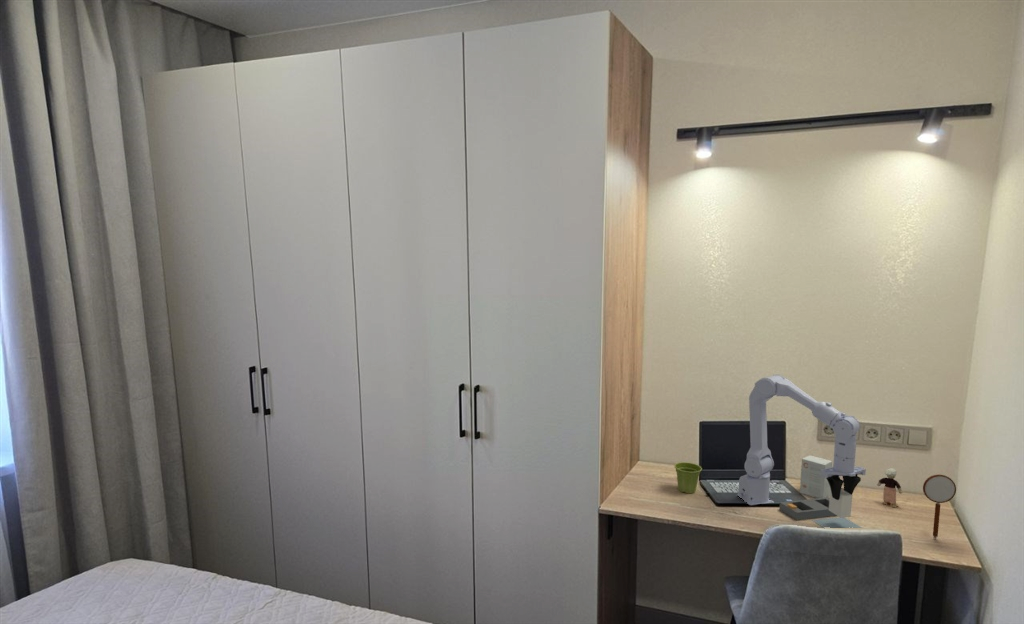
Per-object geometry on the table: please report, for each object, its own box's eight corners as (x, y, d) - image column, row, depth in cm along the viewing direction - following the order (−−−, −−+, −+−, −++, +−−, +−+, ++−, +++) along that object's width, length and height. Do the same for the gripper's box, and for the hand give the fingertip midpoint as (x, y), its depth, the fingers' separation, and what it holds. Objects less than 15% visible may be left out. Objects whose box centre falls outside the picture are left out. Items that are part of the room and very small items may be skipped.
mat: (834, 536, 178) (834, 534, 178) (811, 521, 188) (811, 519, 187) (868, 532, 180) (868, 531, 180) (843, 518, 190) (843, 517, 190)
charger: (840, 517, 181) (842, 492, 180) (828, 510, 186) (830, 485, 185) (850, 516, 182) (852, 491, 181) (838, 509, 187) (840, 484, 186)
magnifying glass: (920, 538, 177) (925, 474, 175) (917, 536, 179) (923, 472, 177) (952, 542, 175) (958, 477, 173) (949, 539, 177) (955, 475, 175)
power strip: (796, 523, 187) (797, 510, 187) (779, 512, 195) (780, 500, 194) (848, 517, 192) (849, 505, 192) (829, 506, 200) (830, 495, 199)
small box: (830, 496, 207) (833, 461, 206) (822, 501, 203) (825, 464, 202) (807, 489, 214) (809, 454, 212) (799, 493, 210) (801, 458, 208)
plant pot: (706, 494, 208) (707, 470, 207) (682, 496, 205) (683, 472, 204) (690, 484, 217) (692, 461, 216) (668, 486, 214) (669, 463, 213)
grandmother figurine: (902, 505, 201) (905, 469, 199) (900, 509, 198) (903, 472, 197) (876, 499, 206) (879, 464, 205) (874, 502, 203) (877, 466, 202)
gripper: (833, 461, 176) (830, 505, 178) (874, 458, 179) (871, 501, 181) (817, 453, 183) (814, 495, 184) (856, 451, 186) (853, 492, 187)
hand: (841, 498), depth 183 cm, fingers closed on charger, 4 cm apart
